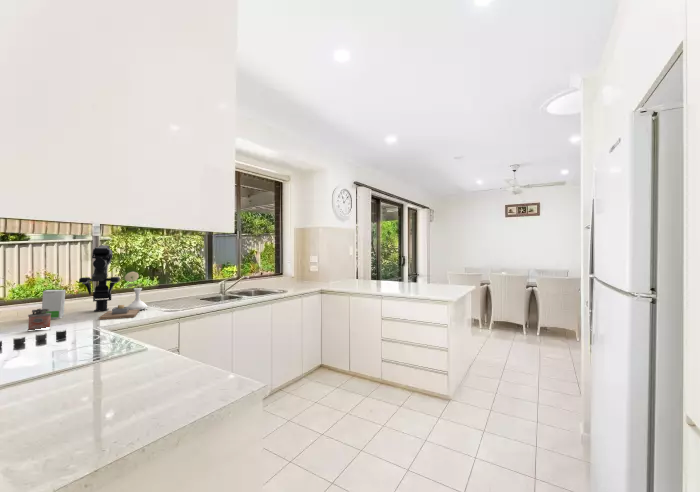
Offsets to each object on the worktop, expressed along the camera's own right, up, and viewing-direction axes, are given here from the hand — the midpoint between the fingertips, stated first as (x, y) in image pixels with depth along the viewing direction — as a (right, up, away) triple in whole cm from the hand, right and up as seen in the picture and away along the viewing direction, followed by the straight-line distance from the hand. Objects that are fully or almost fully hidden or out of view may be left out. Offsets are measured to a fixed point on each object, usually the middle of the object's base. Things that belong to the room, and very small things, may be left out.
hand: (99, 294), depth 189 cm
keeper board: (+15, -12, -3) cm, 19 cm away
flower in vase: (+10, -13, +16) cm, 23 cm away
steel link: (+15, -11, -3) cm, 18 cm away
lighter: (+3, -11, -40) cm, 42 cm away
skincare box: (-17, -12, -12) cm, 24 cm away
